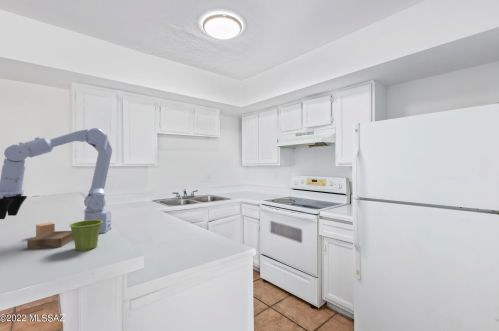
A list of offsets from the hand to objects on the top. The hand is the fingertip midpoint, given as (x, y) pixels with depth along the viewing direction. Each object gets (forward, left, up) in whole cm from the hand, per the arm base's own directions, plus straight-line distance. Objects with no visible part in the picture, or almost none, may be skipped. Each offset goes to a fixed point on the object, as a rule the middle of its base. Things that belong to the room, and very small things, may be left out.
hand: (6, 217), depth 82 cm
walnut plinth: (-15, 0, -10) cm, 18 cm away
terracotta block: (-7, -10, -10) cm, 15 cm away
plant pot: (-29, +8, -10) cm, 31 cm away
